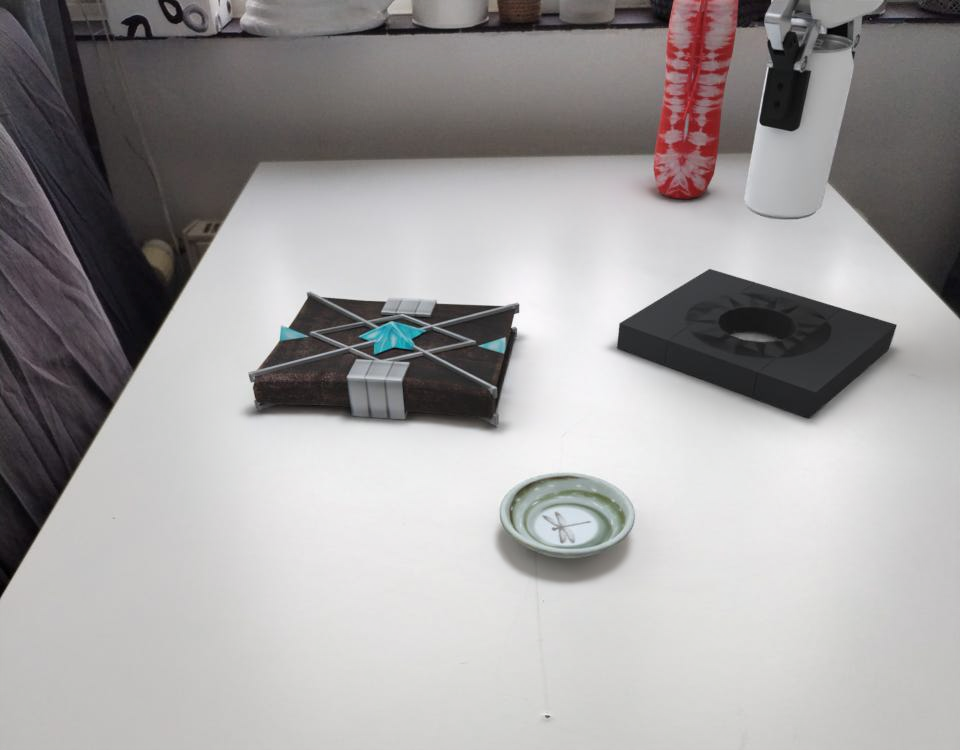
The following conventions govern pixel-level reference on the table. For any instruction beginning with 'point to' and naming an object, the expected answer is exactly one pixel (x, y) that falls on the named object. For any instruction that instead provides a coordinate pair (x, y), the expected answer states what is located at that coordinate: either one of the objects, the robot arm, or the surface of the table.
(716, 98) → the red tall rounded piece
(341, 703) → the table surface
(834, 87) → the can
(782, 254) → the table surface
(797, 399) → the pad
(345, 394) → the book
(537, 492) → the saucer
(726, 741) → the table surface
